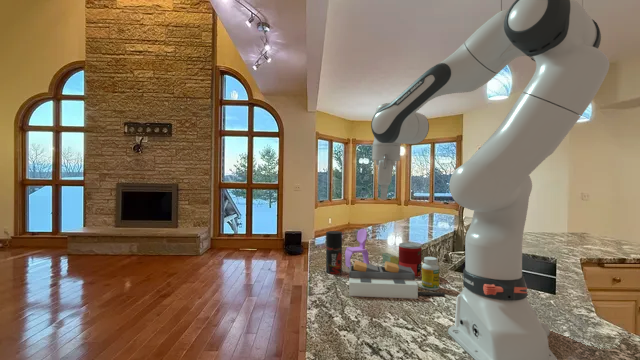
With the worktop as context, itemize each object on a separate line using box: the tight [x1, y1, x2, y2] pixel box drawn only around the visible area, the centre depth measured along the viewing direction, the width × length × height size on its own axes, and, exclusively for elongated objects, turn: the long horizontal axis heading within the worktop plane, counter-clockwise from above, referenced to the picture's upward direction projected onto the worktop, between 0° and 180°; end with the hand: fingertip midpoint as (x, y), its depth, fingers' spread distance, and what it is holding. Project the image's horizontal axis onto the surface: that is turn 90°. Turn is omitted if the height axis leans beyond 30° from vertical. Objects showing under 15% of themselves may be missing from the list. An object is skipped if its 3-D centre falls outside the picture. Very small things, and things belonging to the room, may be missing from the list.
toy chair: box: [344, 228, 371, 269], centre depth 125 cm, size 8×9×15 cm
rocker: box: [353, 260, 379, 272], centre depth 101 cm, size 5×8×2 cm, turn 84°
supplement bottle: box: [421, 256, 440, 291], centre depth 101 cm, size 5×5×10 cm
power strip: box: [348, 265, 446, 300], centre depth 98 cm, size 12×28×6 cm, turn 84°
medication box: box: [381, 252, 399, 265], centre depth 128 cm, size 12×3×4 cm, turn 21°
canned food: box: [398, 242, 422, 278], centre depth 115 cm, size 8×8×11 cm
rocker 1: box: [383, 261, 411, 273], centre depth 100 cm, size 5×8×2 cm, turn 84°
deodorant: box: [325, 230, 343, 275], centre depth 118 cm, size 6×6×15 cm
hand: (384, 197), depth 102 cm, fingers open, 8 cm apart
